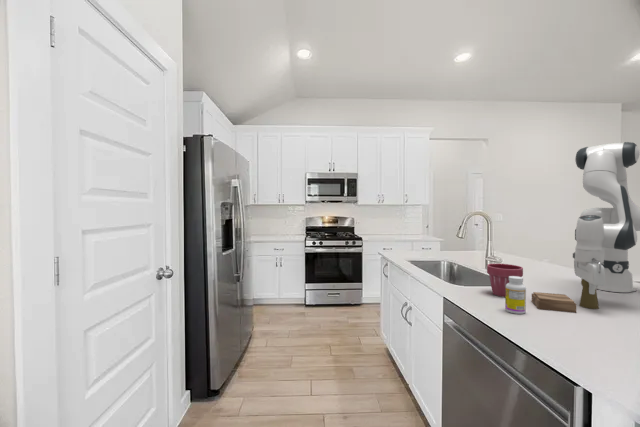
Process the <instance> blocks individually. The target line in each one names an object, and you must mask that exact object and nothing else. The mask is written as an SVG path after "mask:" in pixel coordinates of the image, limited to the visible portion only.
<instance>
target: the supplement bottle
mask: <svg viewBox="0 0 640 427" xmlns="http://www.w3.org/2000/svg"><path fill="white" fill-rule="evenodd" d="M523 283H524V277H523V276H522V277H518V276H509V283H507V284H506V296H505V297H504V298H505V299H504V300H505V302H504V306H505V311H506V312H508V313H510V314H515V315H516V314H517V315H523V314H525V313H526V312H527V311H526V310H527V308H526V307H527V286H526V285H525V284H523Z"/></svg>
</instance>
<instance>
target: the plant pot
mask: <svg viewBox="0 0 640 427" xmlns="http://www.w3.org/2000/svg"><path fill="white" fill-rule="evenodd" d="M486 273H487V274H488V276H489V281H490V286H491V292H492V294H493V295H495V296H498V297H504V298H505V296H506V284H507V283H509V276H518V277H522V278H523V276H524V268H523V266H520V265H514V264H508V263H495V262H494V263H488V264H487V265H486Z"/></svg>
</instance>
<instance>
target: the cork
mask: <svg viewBox="0 0 640 427" xmlns="http://www.w3.org/2000/svg"><path fill="white" fill-rule="evenodd" d="M580 284H581V286H582V288H581V289H582V290H581V296H580V301H579V307H581V308H585V309H591V310H592V309H593V310H596V309H597V310H599V309H600V307H599V306H600V305H599V299H598V292H597V289H595V294H589V293H588V289H589V282H587V281H585V280H584V279H582V281H580Z"/></svg>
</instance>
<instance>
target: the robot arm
mask: <svg viewBox="0 0 640 427" xmlns="http://www.w3.org/2000/svg"><path fill="white" fill-rule="evenodd" d="M639 158H640V149H639V146H638V145H637V143H634V142H631V141H630V142H629V141H625V142H613V143H603V144H600V145H598V144H597V145H593V146H586V147H581V148H580V149H578V150H577V152H576V154H575V158H574V161H575V162H574V163H575V165H576V167H577V168H578V169H580V170H581V171H582V170H583V175H582V188H583V189H584V190H585V191H586V192H587V193H588V194H590V195H591V196H594V197H596V198H599V199H600V200H601V201H603V202H607V203H609V204H610V205H611V206H612V207H592V208H588V209H587V208H586V209H584V210H583V211H582V212H581V213H580V216H579V217H578V219H577V222H576V228H575V230H574V240H575V241H576V246H575V247H574V248H575V251H574V252H573V253H572V259H573V270H574V273H575V276H576V277H578V278H580V279H581V281H582V279H584V280H585V281H587V282H589V289H588V293H589V294H595V289H596V290H601V291H604V292H605V291H606V292H614V293H633V292H637V288H635V287H634V280H633V274H632V272H631V271H630V270H629V269H630V268H629V267H630V262H629V249H632V248H634V247H635V246H636V244H637V242H638V233H637V232H640V206H639V205H637V204H636V203H635V202H634V201H633V200H632V198H631V197H630V195H629V188H628V176H627V175H628V174H627V168H629V167H632V166H634V165H636V164H637V162H638V160H639ZM581 281H580V282H581Z"/></svg>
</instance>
